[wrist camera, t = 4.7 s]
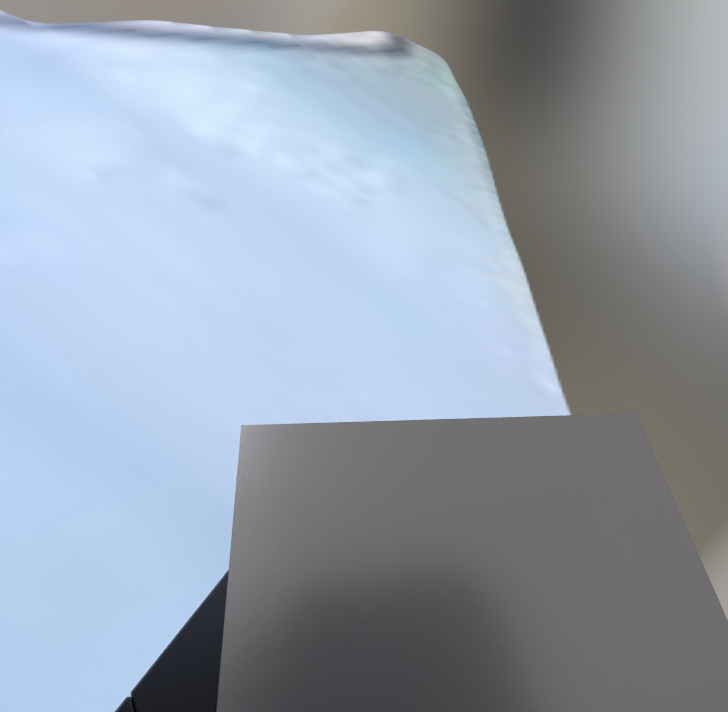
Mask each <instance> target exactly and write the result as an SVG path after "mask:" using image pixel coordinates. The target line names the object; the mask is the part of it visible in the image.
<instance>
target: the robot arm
mask: <svg viewBox="0 0 728 712" xmlns="http://www.w3.org/2000/svg"><path fill="white" fill-rule="evenodd" d="M228 574H229V570H228V571H227V573H226V574H225V575H224V576H223V578H222V579H221V580H220V581H219V583H218V584H217V585H216V586H215V588H214V589H213V590H212V591H211V593H210V594H209V595H208V596H207V598H206V599H205V600H204V601H203V603H202V604H201V605H200V606H199V608H198V609H197V610H196V611H195V613H194V614H193V615H192V616H191V618H190V619H189V620H188V621H187V623H186V624H185V625H184V626H183V628H182V629H181V630H180V631H179V633H178V634H177V635H176V636H175V638H174V639H173V640H172V641H171V643H170V644H169V645H168V646H167V648H166V649H165V650H164V651H163V653H162V654H161V655H160V656H159V658H158V659H157V660H156V661H155V663H154V664H153V665H152V666H151V668H150V669H149V670H148V671H147V673H146V674H145V675H144V676H143V678H142V679H141V680H140V681H139V683H138V684H137V685H136V686H135V688H134V689H133V690H132V692H131V697H127V698H126V699H125V700H124V701H123V702H122V704H121V705H120V706H119V707H118V709H117V710H116V711H115V712H216V711H217V699H218V688H219V677H220V665H221V654H222V642H223V631H224V620H225V608H226V597H227V585H228Z"/></svg>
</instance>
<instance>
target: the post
mask: <svg viewBox="0 0 728 712" xmlns="http://www.w3.org/2000/svg"><path fill="white" fill-rule="evenodd" d="M216 712H728V620H727V618H726V616H725V614H724V611H723V609H722V607H721V604H720V602H719V600H718V598H717V595H716V593H715V591H714V589H713V586H712V584H711V582H710V580H709V577H708V575H707V573H706V571H705V569H704V566H703V564H702V562H701V559H700V557H699V555H698V553H697V550H696V548H695V546H694V544H693V541H692V539H691V537H690V534H689V532H688V530H687V528H686V525H685V523H684V521H683V519H682V516H681V514H680V512H679V510H678V508H677V505H676V503H675V501H674V498H673V496H672V494H671V492H670V489H669V487H668V485H667V483H666V480H665V478H664V476H663V474H662V471H661V469H660V467H659V465H658V463H657V460H656V458H655V456H654V453H653V451H652V449H651V447H650V444H649V442H648V440H647V437H646V435H645V433H644V431H643V428H642V426H641V424H640V422H639V420H638V417H637V415H636V414H602V415H569V416H536V417H503V418H470V419H437V420H404V421H371V422H338V423H305V424H272V425H242V426H241V437H240V448H239V460H238V471H237V483H236V494H235V505H234V517H233V528H232V540H231V551H230V562H229V574H228V585H227V597H226V608H225V620H224V631H223V642H222V654H221V665H220V677H219V688H218V699H217V711H216Z"/></svg>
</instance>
